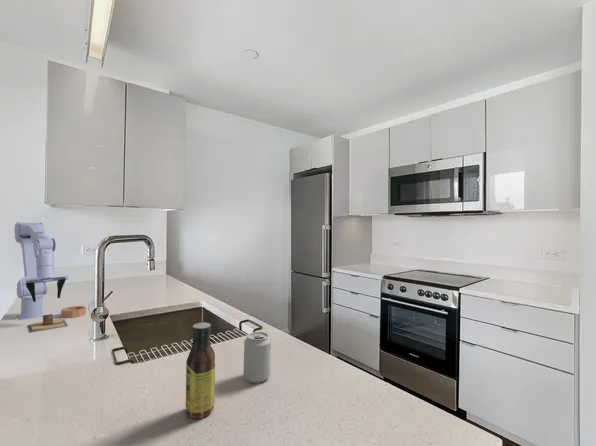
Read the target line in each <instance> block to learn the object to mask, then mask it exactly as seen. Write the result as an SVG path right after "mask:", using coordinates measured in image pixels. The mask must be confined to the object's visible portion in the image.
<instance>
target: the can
mask: <svg viewBox="0 0 596 446" xmlns="http://www.w3.org/2000/svg"><path fill="white" fill-rule="evenodd" d="M269 336H270V335H269V334H268V333H267V332H264V331H263V332H262V331H253V332H249V333H248V334H247V335H246V338H245V339H244V342H243V344H244V345H243V378H244V379H245V380H246V381H247V382H249V383H250V384H251V383H252V384H261V383H264V382H266V381H267V380H268V379H269V378H270V376H271V363H272V362H271V361H272V360H271V359H272V358H271V355H272V348H271V347H272V341H271V340H272V339H271V338H270V337H269Z"/></svg>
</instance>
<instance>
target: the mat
mask: <svg viewBox="0 0 596 446" xmlns="http://www.w3.org/2000/svg"><path fill="white" fill-rule="evenodd" d="M62 321H63V322H64V324H65V326H62V327H56V328H50V329H44V330H38V331H33V332H32V328H31V324H28V325H26V327H27V330H28V333H29V334H31V333H37V332H42V331H47V330H54V329H55V330H56V329H59V328H67V327H69V325H68V323H67V322H66V320H65V319H62Z"/></svg>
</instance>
